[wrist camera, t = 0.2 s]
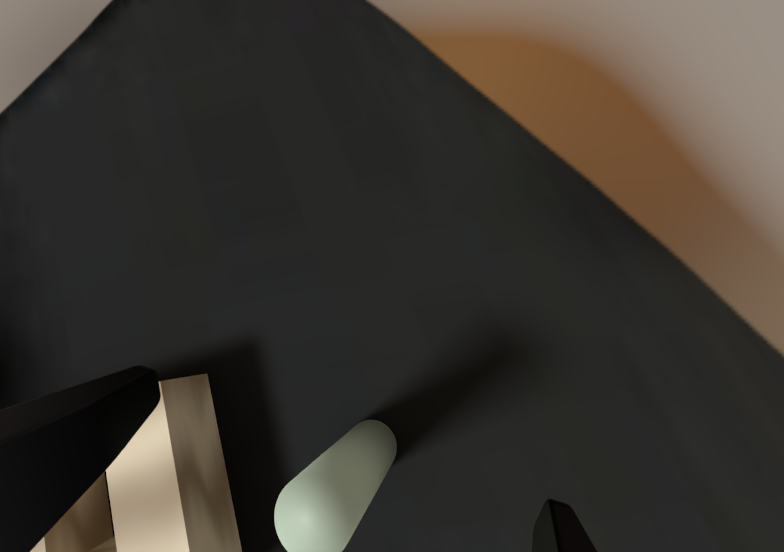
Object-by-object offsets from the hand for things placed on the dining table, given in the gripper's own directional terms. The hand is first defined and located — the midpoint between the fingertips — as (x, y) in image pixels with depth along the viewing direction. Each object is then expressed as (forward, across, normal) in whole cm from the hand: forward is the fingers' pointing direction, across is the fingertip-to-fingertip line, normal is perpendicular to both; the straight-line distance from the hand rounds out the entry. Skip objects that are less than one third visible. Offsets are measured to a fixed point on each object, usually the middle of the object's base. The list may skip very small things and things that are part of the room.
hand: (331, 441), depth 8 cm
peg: (+10, +1, +12) cm, 16 cm away
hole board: (+7, +15, +18) cm, 25 cm away
